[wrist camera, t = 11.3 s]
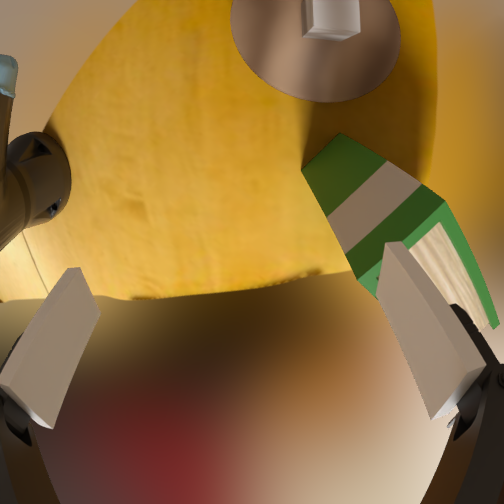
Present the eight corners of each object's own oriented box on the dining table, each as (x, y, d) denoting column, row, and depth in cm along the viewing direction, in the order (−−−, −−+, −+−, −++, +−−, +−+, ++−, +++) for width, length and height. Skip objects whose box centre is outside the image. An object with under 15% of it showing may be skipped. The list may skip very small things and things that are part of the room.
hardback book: (410, 217, 41) (499, 323, 21) (376, 248, 44) (444, 368, 23) (339, 132, 35) (445, 200, 14) (300, 170, 38) (356, 280, 17)
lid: (233, 100, 28) (227, 103, 22) (230, -43, 18) (224, -72, 12) (394, 110, 28) (427, 118, 21) (390, -26, 18) (419, -43, 12)
